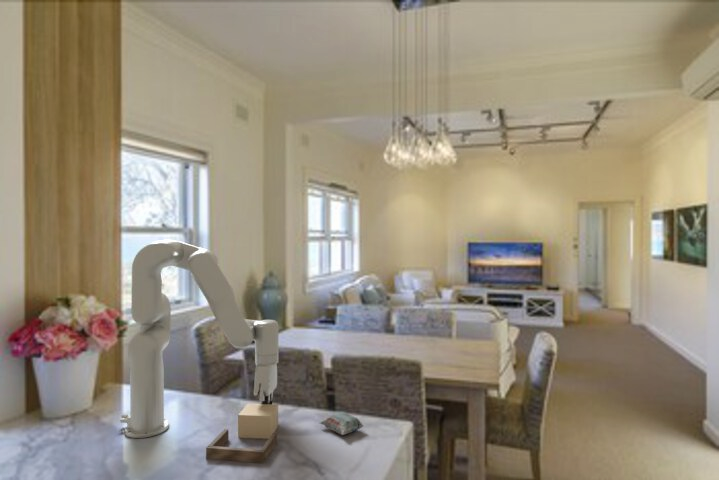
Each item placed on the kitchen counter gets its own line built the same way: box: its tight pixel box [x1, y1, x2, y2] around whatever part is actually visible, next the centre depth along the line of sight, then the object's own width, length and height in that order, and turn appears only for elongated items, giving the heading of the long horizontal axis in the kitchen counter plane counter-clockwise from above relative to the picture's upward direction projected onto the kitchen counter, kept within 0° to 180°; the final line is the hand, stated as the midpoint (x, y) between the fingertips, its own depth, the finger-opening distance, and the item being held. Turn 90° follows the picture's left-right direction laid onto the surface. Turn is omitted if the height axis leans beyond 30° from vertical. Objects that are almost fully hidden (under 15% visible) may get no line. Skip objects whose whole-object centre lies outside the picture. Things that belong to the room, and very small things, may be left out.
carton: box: [237, 403, 279, 440], centre depth 138 cm, size 10×9×7 cm
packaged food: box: [318, 411, 364, 436], centre depth 139 cm, size 9×12×5 cm
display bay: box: [205, 428, 278, 464], centre depth 126 cm, size 16×12×3 cm
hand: (266, 413), depth 145 cm, fingers closed
